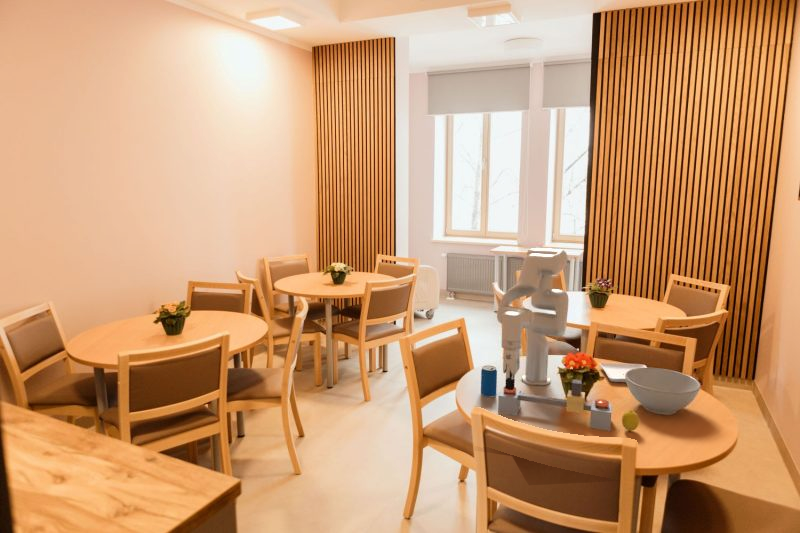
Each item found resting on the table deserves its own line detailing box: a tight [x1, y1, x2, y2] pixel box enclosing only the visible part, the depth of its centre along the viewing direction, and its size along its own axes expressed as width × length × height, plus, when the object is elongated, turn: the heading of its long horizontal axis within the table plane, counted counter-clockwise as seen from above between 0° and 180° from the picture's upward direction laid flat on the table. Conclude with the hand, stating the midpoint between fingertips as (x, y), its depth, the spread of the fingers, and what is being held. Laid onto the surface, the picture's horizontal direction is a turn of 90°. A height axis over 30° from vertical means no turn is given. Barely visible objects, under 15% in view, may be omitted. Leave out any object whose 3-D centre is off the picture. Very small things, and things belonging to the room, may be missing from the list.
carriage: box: [565, 378, 586, 415], centre depth 204 cm, size 6×6×11 cm
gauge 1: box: [503, 386, 517, 395], centre depth 214 cm, size 5×5×7 cm
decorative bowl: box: [625, 367, 701, 416], centre depth 215 cm, size 27×27×12 cm
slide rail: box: [497, 386, 613, 432], centre depth 208 cm, size 9×41×7 cm, turn 67°
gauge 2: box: [594, 398, 610, 409], centre depth 201 cm, size 5×5×7 cm
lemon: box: [621, 409, 640, 432], centre depth 196 cm, size 6×6×8 cm
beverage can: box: [480, 365, 498, 398], centre depth 228 cm, size 6×6×12 cm
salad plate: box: [598, 362, 648, 383], centre depth 250 cm, size 21×21×3 cm
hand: (509, 388), depth 214 cm, fingers closed
